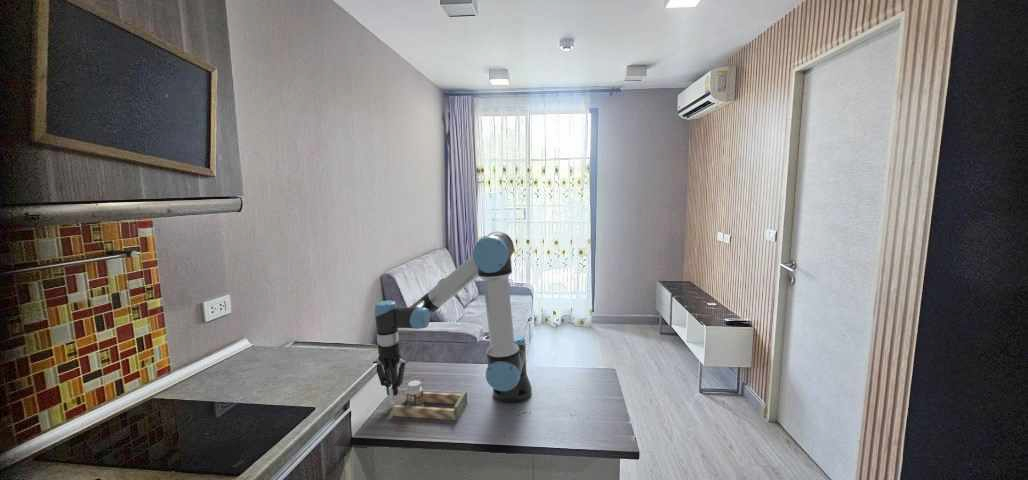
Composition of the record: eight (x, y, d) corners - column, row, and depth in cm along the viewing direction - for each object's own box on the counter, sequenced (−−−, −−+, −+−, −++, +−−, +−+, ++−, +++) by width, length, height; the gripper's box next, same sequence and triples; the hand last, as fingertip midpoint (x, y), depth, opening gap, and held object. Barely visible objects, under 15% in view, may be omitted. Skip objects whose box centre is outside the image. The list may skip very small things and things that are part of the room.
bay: (467, 402, 151) (466, 390, 150) (458, 420, 139) (457, 406, 139) (407, 399, 155) (406, 387, 154) (393, 415, 144) (392, 402, 143)
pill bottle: (419, 413, 145) (418, 387, 144) (405, 411, 146) (403, 386, 145) (426, 404, 150) (424, 380, 149) (412, 403, 152) (410, 379, 150)
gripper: (409, 339, 149) (413, 398, 152) (377, 338, 151) (382, 396, 154) (400, 347, 142) (405, 409, 145) (366, 346, 144) (372, 407, 147)
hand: (393, 402), depth 150 cm, fingers closed
